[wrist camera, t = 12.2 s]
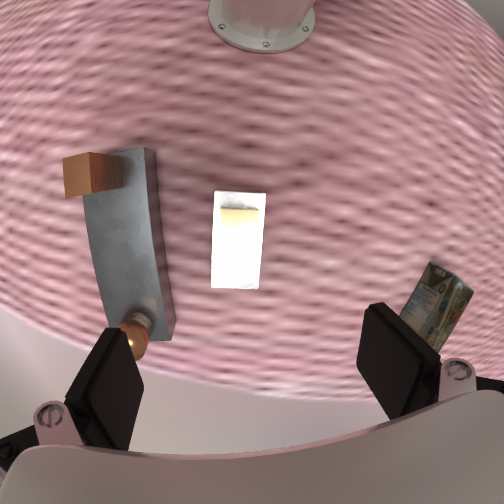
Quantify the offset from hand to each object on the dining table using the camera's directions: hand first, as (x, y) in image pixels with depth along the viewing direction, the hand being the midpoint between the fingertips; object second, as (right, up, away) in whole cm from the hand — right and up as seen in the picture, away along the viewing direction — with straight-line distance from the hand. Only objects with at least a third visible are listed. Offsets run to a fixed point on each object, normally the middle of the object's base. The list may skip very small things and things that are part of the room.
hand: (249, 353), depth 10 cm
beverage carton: (+25, -7, +28) cm, 38 cm away
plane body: (-13, +5, +20) cm, 24 cm away
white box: (-2, +6, +21) cm, 22 cm away
